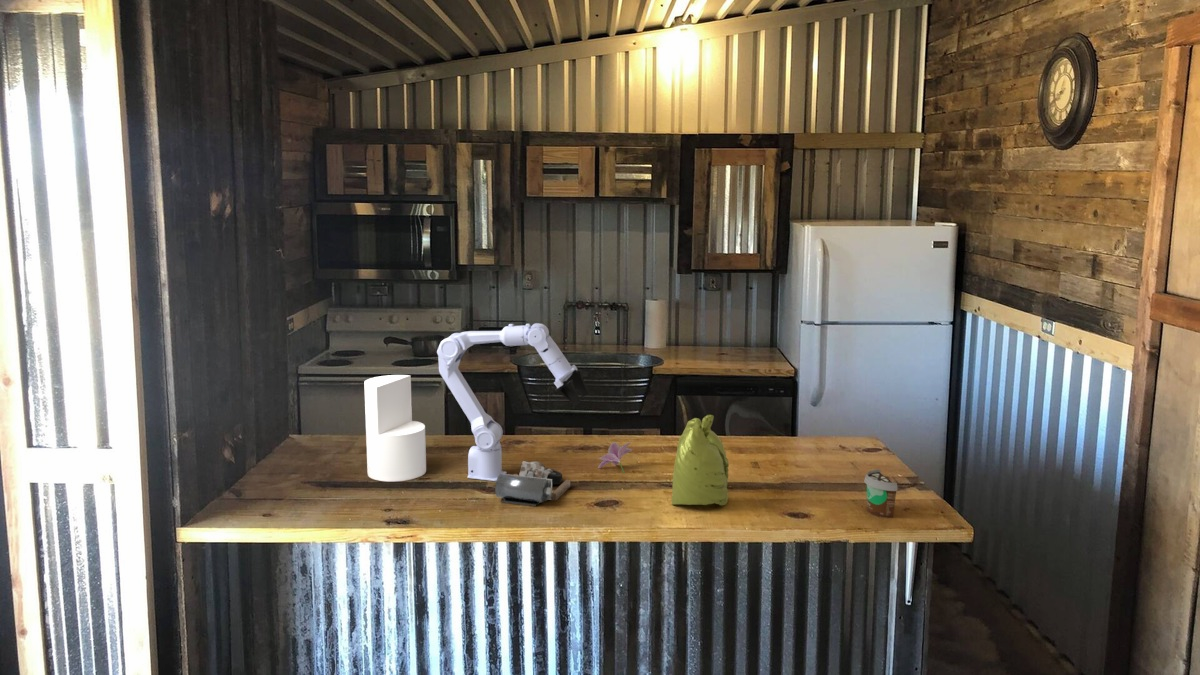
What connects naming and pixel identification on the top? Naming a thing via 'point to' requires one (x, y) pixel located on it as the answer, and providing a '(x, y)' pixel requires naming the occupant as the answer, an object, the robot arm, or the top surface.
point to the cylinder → (393, 430)
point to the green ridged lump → (700, 466)
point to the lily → (614, 454)
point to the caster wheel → (540, 471)
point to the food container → (880, 494)
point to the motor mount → (527, 489)
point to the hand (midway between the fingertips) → (582, 399)
